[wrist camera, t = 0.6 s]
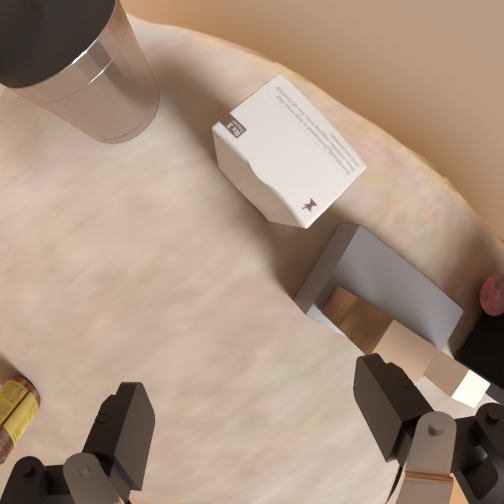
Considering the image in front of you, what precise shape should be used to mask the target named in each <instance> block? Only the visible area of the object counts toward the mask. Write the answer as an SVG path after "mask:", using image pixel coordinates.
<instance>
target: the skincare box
mask: <svg viewBox="0 0 504 504" xmlns="http://www.w3.org/2000/svg"><path fill="white" fill-rule="evenodd" d="M211 128H212V133H213V139H214V145H215V150H216V156H217V161H218V168H219V169H220V170H221V172H222V173H223V174H224V175H225V176H226V177H227V178H228V179H229V180H230V182H231V183H232V184H233V185H234V186H235V187H236V188H237V189H238V190H239V191H240V192H241V193H242V194H243V195H244V196H245V197H246V198H247V199H248V200H249V201H250V202H251V203H252V204H253V205H254V206H255V207H256V208H257V209H258V210H259V211H260V212H261V213H262V214H263V215H264V216H265V218H266V219H267V220H268V221H269V222H275V223H281V224H286V225H291V226H297V227H302V228H305V229H307V228H308V227H309V226H310V225H311V224H312V223H313V222H314V221H315V220H316V219H317V218H318V217H319V216H320V215H321V214H322V213H323V212H324V211H325V210H326V209H327V208H328V207H329V206H330V205H331V204H332V203H333V202H334V201H335V200H336V199H337V198H338V197H339V196H340V195H341V194H342V193H343V192H344V191H345V190H346V189H347V188H348V187H349V186H350V184H351V183H352V182H353V181H354V180H355V179H356V178H357V177H358V176H359V175H360V174H361V173H362V172H363V171H364V170H365V169H366V168H367V165H366V164H365V162H364V161H363V160H362V159H361V157H360V156H359V155H358V154H357V153H356V151H355V150H354V149H353V148H352V147H351V145H350V144H349V143H348V142H347V141H346V140H345V138H344V137H343V136H342V135H341V134H340V133H339V132H338V131H337V129H336V128H335V127H334V126H333V125H332V124H331V123H330V122H329V121H328V119H327V118H326V117H325V116H324V115H323V114H322V113H321V112H320V111H319V110H318V109H317V108H316V107H315V106H314V105H313V104H312V103H311V102H310V101H309V100H308V99H307V98H306V97H305V96H304V95H303V94H302V93H301V92H300V91H299V90H298V89H297V88H296V87H295V86H294V85H293V84H292V83H291V82H290V81H289V80H288V79H287V78H286V77H285V76H284V75H282V74H281V73H280V74H278V75H277V76H276V77H274V78H273V79H271V80H270V81H269V82H267V83H266V84H265V85H263V86H262V87H261V88H260V89H258V90H257V91H256V92H254V93H253V94H252V95H250V96H249V97H248V98H247V99H245V100H244V101H243V102H241V103H240V104H239V105H238V106H236V107H235V108H234V109H233V110H231V111H230V112H229V113H228V114H226V115H225V116H224V117H223V118H221V119H220V120H219V121H218V122H216V123H215V124H214V125H213V126H212V127H211Z"/></svg>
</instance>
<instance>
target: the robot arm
mask: <svg viewBox="0 0 504 504" xmlns="http://www.w3.org/2000/svg"><path fill="white" fill-rule="evenodd" d="M0 83H1V84H3V85H4V86H6V87H8V88H10V89H11V90H13V91H15V92H17V93H18V94H20V95H22V96H23V97H25V98H27V99H29V100H31V101H32V102H34V103H36V104H37V105H39V106H41V107H43V108H44V109H46V110H48V111H49V112H51V113H53V114H54V115H56V116H58V117H60V118H61V119H63V120H65V121H66V122H68V123H70V124H71V125H73V126H75V127H76V128H78V129H80V130H81V131H83V132H85V133H86V134H88V135H90V136H91V137H93V138H95V139H96V140H98V141H101V142H104V143H111V144H113V143H121V142H124V141H127V140H130V139H131V138H133V137H135V136H137V135H138V134H139V133H141V132H142V131H143V130H144V129H145V128H146V127H147V126H148V125H149V124H150V122H151V121H152V119H153V118H154V116H155V114H156V111H157V109H158V104H159V91H158V88H157V85H156V82H155V80H154V78H153V76H152V73H151V71H150V68H149V66H148V64H147V62H146V60H145V57H144V55H143V53H142V51H141V48H140V46H139V44H138V41H137V39H136V37H135V35H134V32H133V30H132V28H131V26H130V23H129V21H128V19H127V16H126V14H125V12H124V10H123V8H122V5H121V3H120V1H119V0H0ZM353 391H354V397H355V400H356V402H357V404H358V406H359V408H360V410H361V412H362V414H363V416H364V418H365V420H366V422H367V424H368V426H369V428H370V430H371V432H372V434H373V436H374V438H375V440H376V442H377V444H378V446H379V448H380V450H381V452H382V454H383V456H384V458H385V461H386V463H387V462H390V461H392V460H395V459H397V461H398V463H399V466H398V469H397V472H396V474H395V477H394V480H393V483H392V486H391V488H390V491H389V493H388V496H387V499H386V501H385V503H384V504H449V502H450V497H451V493H452V488H453V482H454V481H453V478H452V477H450V473H453V474H454V476H455V477H456V479H457V481H458V483H459V485H460V487H461V489H462V491H463V493H464V495H465V497H466V499H467V501H468V503H469V504H504V406H502V405H500V404H498V403H486V404H484V405H482V406H481V407H480V408H479V409H478V411H477V413H476V415H475V416H470V417H465V418H459V419H453V418H452V417H451V416H450V415H448V414H446V413H444V412H439V411H434V410H433V409H432V407H431V406H430V405H429V403H428V402H427V401H426V399H425V398H424V397H423V395H422V394H421V393H420V391H419V390H418V389H417V387H416V386H414V383H413V382H412V381H411V379H409V377H408V376H407V374H406V373H405V372H404V370H403V369H402V368H401V367H399V366H397V365H395V364H394V363H392V362H389V363H385V362H384V360H383V359H382V358H381V356H380V355H379V354H378V353H373V354H368V355H364V356H360V357H358V358H357V361H356V369H355V378H354V386H353ZM154 426H155V414H154V410H153V408H152V405H151V403H150V401H149V398H148V396H147V393H146V391H145V388H144V386H143V384H142V383H141V382H122V383H121V384H120V386H119V388H118V390H117V393H116V395H110V396H109V397H108V398H107V399H106V400H105V401H104V402H103V403H102V405H101V407H100V410H99V412H98V415H97V416H96V419H95V423H94V424H93V426H92V428H91V431H90V433H89V436H88V438H87V441H86V443H85V446H84V448H83V451H82V453H77V454H74V455H72V456H70V457H69V458H68V459H67V460H66V461H65V463H64V465H52V466H44V465H43V464H42V462H41V461H40V460H39V459H37V458H36V457H32V456H27V457H23V458H21V459H20V460H18V461H17V463H16V464H15V465H14V468H13V470H12V472H11V475H10V477H9V479H8V482H7V484H6V487H5V489H4V492H3V494H2V497H1V500H0V504H133V502H132V501H131V500H130V498H129V495H130V490H137V491H141V489H142V484H143V479H144V474H145V469H146V464H147V459H148V454H149V449H150V444H151V440H152V435H153V431H154Z"/></svg>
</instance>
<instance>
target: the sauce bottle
mask: <svg viewBox="0 0 504 504" xmlns="http://www.w3.org/2000/svg"><path fill="white" fill-rule="evenodd" d="M39 406H40V397H39V395H38V393H37V391H36V390H35V388H34V387H33V385H32V384H31V383H30V382H29V381H27V380H25V379H24V378H22V377H19V376H15V377H12V378H11V379H9V381H7V382H6V383H5V384H4V385H3V386H2V387H1V388H0V464H2V463H4V462H5V460H6V458H7V457H8V455H9V454H10V452H11V450H13V448H14V447H15V445H16V444H17V442H18V440H19V439H20V437H21V436H22V434H23V433H24V431H25V430H26V428H27V427H28V425H29V424H30V422H31V421H32V419H33V418H34V416H35V415H36V413H37V412H38V408H39Z"/></svg>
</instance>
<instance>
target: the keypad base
mask: <svg viewBox="0 0 504 504" xmlns="http://www.w3.org/2000/svg"><path fill="white" fill-rule="evenodd" d="M337 285H338V286H340V287H342V288H343V289H345V290H347V291H348V292H350V293H352V294H353V295H355V296H356V297H358V298H360V299H361V300H363V301H365V302H366V303H368V304H370V305H371V306H373V307H374V308H376V309H378V310H379V311H381V312H383V313H384V314H386V315H387V316H389V317H391V318H392V319H394V320H395V321H397V322H399V323H400V324H402V325H403V326H405V327H406V328H408V329H409V330H411V331H412V332H414V333H415V334H417V335H418V336H420V337H422V338H423V339H425V340H426V341H428V342H429V343H431V344H432V345H434V346H435V347H437V348H438V349H439V350H440V351H442V349H443V347H444V346H445V344H446V342H447V341H448V339H449V337H450V335H451V334H452V332H453V330H454V328H455V327H456V325H457V323H458V321H459V319H460V318H461V316H462V314H463V312H464V311H463V310H462V309H461V308H460V307H459V306H458V305H457V304H456V303H455V302H454V301H452V300H451V299H450V298H449V297H448V296H447V295H446V294H445V293H443V292H442V291H441V290H440V289H439V288H438V287H437V286H435V285H434V284H433V283H432V282H431V281H430V280H428V279H427V278H426V277H425V276H424V275H422V274H421V273H420V272H419V271H418V270H416V269H415V268H414V267H413V266H412V265H410V264H409V263H408V262H407V261H406V260H404V259H403V258H402V257H401V256H399V255H398V254H397V253H396V252H394V251H393V250H392V249H390V248H389V247H388V246H387V245H385V244H384V243H383V242H382V241H380V240H379V239H378V238H376V237H375V236H374V235H372V234H371V233H370V232H368V231H367V230H366V229H364V228H363V227H362V226H360V225H354V224H345V223H339V225H338V227H337V228H336V230H335V232H334V234H333V235H332V237H331V239H330V240H329V242H328V244H327V245H326V247H325V249H324V251H323V252H322V254H321V256H320V257H319V259H318V260H317V262H316V264H315V265H314V267H313V269H312V270H311V272H310V274H309V275H308V277H307V278H306V280H305V282H304V283H303V285H302V286H301V288H300V290H299V291H298V293H297V294H296V296H295V298H294V299H293V301H294V302H295V303H296V305H297V306H298V307H299V308H300V309H301V310H302V311H303V313H304V314H305V315H307V316H308V317H310V318H312V319H314V320H316V321H317V322H319V323H321V324H323V325H325V326H327V327H328V328H330V329H332V330H334V331H336V332H338V333H340V334H341V335H343V336H345V337H347V336H346V335H344V334H343V333H342V332H341V331H340V330H339V329H338V328H337V327H336V326H335V325H334V324H333V323H332V322H331V321H330V320H329V319H328V318H327V317H325V316H324V315H323V314H322V313H321V310H322V309H323V307H324V306H325V304H326V302H327V301H328V299H329V298H330V296H331V294H332V293H333V291H334V290H335V288H336V286H337ZM347 338H348V337H347ZM422 377H423V378H424V377H425V376H424V375H422Z"/></svg>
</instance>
